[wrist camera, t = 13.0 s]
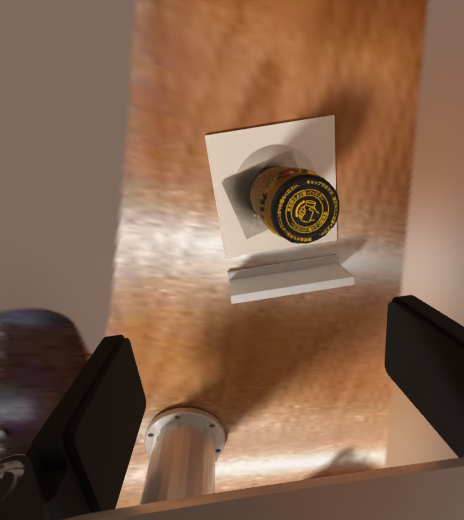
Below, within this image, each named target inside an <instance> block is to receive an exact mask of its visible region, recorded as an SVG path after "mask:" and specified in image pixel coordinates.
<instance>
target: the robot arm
mask: <svg viewBox="0 0 464 520" xmlns="http://www.w3.org/2000/svg"><path fill="white" fill-rule="evenodd" d="M385 369H386V372H387V373H388V375H389V376H390V377H391V379H392V380H393V381H394V382H395V383H396V384H397V386H398V387H399V388H400V389H401V390H402V391H403V392H404V394H405V395H406V396H407V397H408V398H409V400H410V401H411V402H412V403H413V404H414V406H415V407H416V408H417V409H418V410H419V411H420V413H421V414H422V415H423V416H424V417H425V418H426V419H427V421H428V422H429V423H430V424H431V425H432V427H433V428H434V429H435V430H436V431H437V432H438V434H439V435H440V436H441V437H442V438H443V440H444V441H445V442H446V443H447V444H448V445H449V447H450V448H451V449H452V450H453V451H454V452H455V454H456V455H457V456H458V457H459V458H454V459H447V460H440V461H433V462H426V463H419V464H412V465H404V466H397V467H390V468H382V469H375V470H368V471H362V472H355V473H348V474H341V475H334V476H327V477H320V478H313V479H306V480H300V481H293V482H286V483H279V484H272V485H265V486H259V487H252V488H245V489H239V490H232V491H226V492H219V493H215V460H216V459H217V458H218V457H219V456H220V454H221V453H222V451H223V449H224V446H225V432H224V428H223V426H222V424H221V423H220V422H219V420H218V419H217V418H215V417H214V416H213V415H211V414H210V413H208V412H206V411H203V410H200V409H196V408H184V407H183V408H175V409H171V410H168V411H166V412H163V413H161V414H160V415H158V416H157V417H155V418H154V419H153V420H152V421H151V423H150V424H149V426H148V428H147V431H146V434H145V439H144V442H145V448H146V451H147V452H148V454H149V455H150V461H149V466H148V470H147V474H146V479H145V483H144V487H143V492H142V496H141V500H140V504H139V505H136V506H130V507H124V508H118V509H115V508H116V504H117V501H118V498H119V494H120V491H121V488H122V484H123V481H124V478H125V475H126V471H127V468H128V465H129V461H130V458H131V455H132V451H133V448H134V445H135V442H136V438H137V435H138V432H139V428H140V425H141V422H142V418H143V415H144V412H145V408H146V398H145V394H144V390H143V387H142V383H141V380H140V376H139V372H138V369H137V365H136V362H135V358H134V354H133V351H132V347H131V343H130V340H129V339H128V338H124V336H123V335H115V336H108V337H104V338H103V340H102V341H101V343H100V344H99V345H98V347H97V348H96V350H95V351H94V353H93V354H92V356H91V357H90V358H89V360H88V361H87V363H86V364H85V366H84V367H83V369H82V370H81V372H80V373H79V374H78V376H77V377H76V379H75V380H74V382H73V383H72V385H71V386H70V388H69V389H68V390H67V392H66V393H65V395H64V396H63V398H62V399H61V401H60V402H59V403H58V405H57V406H56V408H55V409H54V411H53V412H52V414H51V415H50V417H49V418H48V419H47V421H46V422H45V424H44V425H43V427H42V428H41V430H40V431H39V433H38V434H37V435H36V437H35V438H34V440H33V441H32V446H31V447H30V449H29V450H28V452H27V453H26V455H23V454H22V455H12V456H9V457H6V458H3V459H1V460H0V520H464V327H463V326H462V325H460V324H459V323H457V322H455V321H454V320H452V319H450V318H449V317H447V316H446V315H444V314H442V313H441V312H439V311H438V310H436V309H434V308H433V307H431V306H429V305H428V304H426V303H425V302H423V301H421V300H420V299H418V298H416V297H415V296H413V295H408V296H401V297H395V298H393V300H392V302H390V303H389V304H388V314H387V331H386V348H385Z"/></svg>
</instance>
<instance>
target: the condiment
mask: <svg viewBox="0 0 464 520" xmlns="http://www.w3.org/2000/svg"><path fill="white" fill-rule="evenodd" d="M221 183H222V185H223V187H224V189H225V192H226V194H227V196H228V199H229V201H230V203H231V205H232V207H233V210H234V212H235V214H236V217H237V219H238V221H239V223H240V226H241V228H242V230H243V232H244V235H245V237H246V239H248V238H250V237H253V236H255V235H257V234H260V233H262V232H264V231H266V230H269V229H270V230H271V231H272V232H273V233H274V234H276V235H278V236H280V237H282V238H285V239H286V240H288V241H289V242H291V243H297V244H298V243H301V244H302V243H303V244H307V243H311V242H314V241H316V240H319V239H320V238H322V237H324V236H325V235H326V234H327V233H328V232H329V231H330V230H331V229H332V228H333V227H334V225H335V224H336V221H337V219H338V214H339V199H338V195H337V192H336V190H335V189H334V187H333V186H332V185H331V184H330V183H329V182H328V181H326V180H325V179H324V178H322V177H320V176H319V175H317V174H316V173H315V172H313V171H310V170H307V169H302V168H298V166H297V163H296V160H295V157H294V154H293V151H292V149H291V150H289V151H287V152H284V153H282V154H280V155H278V156H276V157H274V158H272V159H269V160H267V161H265V162H263V163H261V164H259V165H257V166H255V167H252V168H250V169H248V170H246V171H244V172H242V173H240V174H237V175H235V176H233V177H231V178H229V179H227V180H225V181H223V182H221ZM254 215H255V216H254ZM258 216H259V217H258Z"/></svg>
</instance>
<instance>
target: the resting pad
mask: <svg viewBox="0 0 464 520" xmlns="http://www.w3.org/2000/svg"><path fill="white" fill-rule="evenodd" d="M205 140H206V146H207V152H208V158H209V164H210V170H211V176H212V182H213V188H214V194H215V200H216V206H217V211H218V217H219V223H220V229H221V235H222V241H223V247H224V253H225V258H227V257H234V256H240V255H246V254H253V253H259V252H265V251H272V250H278V249H285V248H291V247H297V246H304V245H310V244H316V243H323V242H329V241H335V240H337V221H336V224H335V225H334V227H333V228H332V229H331V230H330V231H329V232H328V233H327V234H326V235H325V236H324V237H322V238H320V239H319V240H316V241H314V242H311V243H307V244H303V243H302V244H301V243H298V244H297V243H291V242H289V241H288V240H286V239H285V238H282V237H280V236H278V235H276V234H274V233H273V232H272V231H271V230H270V229H269V230H266V231H264V232H262V233H260V234H257V235H255V236H253V237H250V238H248V239H246V237H245V235H244V232H243V230H242V228H241V226H240V223H239V221H238V219H237V217H236V214H235V212H234V210H233V207H232V205H231V203H230V201H229V199H228V196H227V194H226V192H225V189H224V187H223V185H222V183H221V182H223V181H225V180H227V179H229V178H231V177H233V176H235V175H237V174H240V173H242V172H244V171H246V170H248V169H250V168H252V167H255V166H257V165H259V164H261V163H263V162H265V161H267V160H269V159H272V158H274V157H276V156H278V155H280V154H282V153H284V152H287V151H289V150H291V149H292V151H293V154H294V157H295V160H296V163H297V166H298V168H302V169H307V170H310V171H313V172H315V173H316V174H317V175H319V176H320V177H322V178H324V179H325V180H326V181H328V182H329V183H330V184H331V185H332V186H333V187H334V189H335V190H336V169H335V122H334V115H330V116H324V117H318V118H312V119H305V120H299V121H293V122H287V123H280V124H274V125H268V126H262V127H255V128H249V129H243V130H237V131H230V132H224V133H218V134H212V135H205ZM254 216H255V215H254ZM258 217H259V216H258Z"/></svg>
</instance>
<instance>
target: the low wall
mask: <svg viewBox="0 0 464 520" xmlns="http://www.w3.org/2000/svg"><path fill="white" fill-rule="evenodd" d="M228 277H229V286H230V296H231V302H232V304H235V303H241V302H248V301H254V300H261V299H267V298H273V297H280V296H286V295H292V294H299V293H305V292H312V291H318V290H324V289H331V288H337V287H344V286H350V285H354V276H353V275H352V274H351V273H349V272H348V271H347V270H346V269H345V268H343V267H342V266H341V265H340V264H338V255H336V254H335V255H329V256H323V257H316V258H310V259H304V260H297V261H291V262H284V263H278V264H272V265H265V266H259V267H253V268H246V269H240V270H234V271H228Z"/></svg>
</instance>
